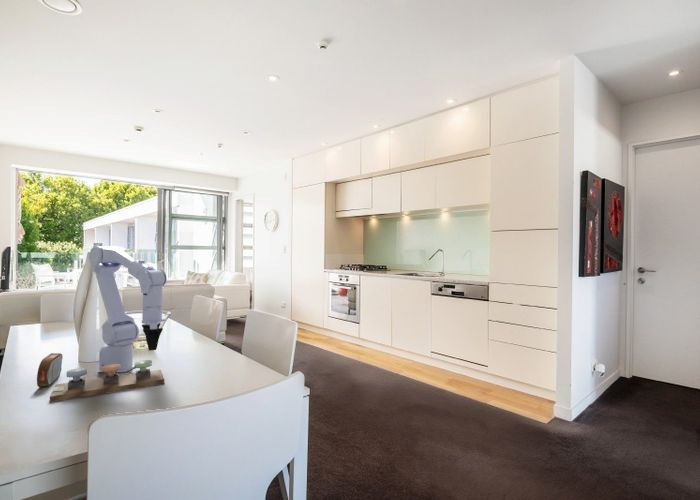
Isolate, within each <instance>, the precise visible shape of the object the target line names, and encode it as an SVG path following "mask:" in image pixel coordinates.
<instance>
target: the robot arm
mask: <svg viewBox="0 0 700 500" xmlns="http://www.w3.org/2000/svg"><path fill="white" fill-rule="evenodd" d="M88 260H89V263H90V267H91V270H92V272H93V273H95V274H94V275H95V276H96V281H97V285H98V288H99V291H100V294H101V298H102V302H103V306H104V309H105V313H106V315H107V320H105V322H104V323H103V324H102V326H101V330H102V334H101V335H102V336H101V337H102V340H103V342H104V343H105V344H103V345H102V347H100V350H99V360H98V361H99V364H98V365H99V367H98V370H97V372H98V373H103V372H102V367H103V366H105V365H110V364H120V365H121V369H120V370H119V371H116V372H115V373H127V372H129V371H130V370H132V369H134V368H135V363H133V359H134V358H133V356H134V355H133V353H134V351H133V347H134V346H133V344H134V343H135V342H136V340H137V338H138V336H139V333H140V330H139V326H138V324H136V322H135V318H134V317H132V316H130V315H128V314H126V311H125V308H124V305H123V302H122V298H121V295H120V292H119V289H118V284H117V282H116V279H115V275H114V274H115V273H116V272H118V271H119V270H120V268H121V266H123V267H125V268H127V272H128V274H130V276H132V277H134V278H135V279H137V280H138V284H139V286H140V292H141V293H142V311H141V312H142V315H141V316H142V317H141V318H142V319H141V327H142V331H143V334H144V335H145V341H146V345H147V349H148V351H156V350H157V349H158V345H159V340H160V336H161V334H162V333H163V330H164V328H163V327H160V326H161V324H162V323H163V322H166V321H167V320H166V317H165V318H163V287H164V286H165V285H166V284H167V274H166V272H165V271H164V270H163V269H155V268H154V267H153V266H152V265H149V264H148V263H146V261H145V260H144V259H135V258H133V257H132V256H131V255H130V254H129V253H128V252H127V249H126V248H124V247H123V246H121V245H120V246H99V245H94V246H92V247H91V249H90V251H89V255H88Z"/></svg>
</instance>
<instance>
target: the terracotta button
mask: <svg viewBox="0 0 700 500" xmlns="http://www.w3.org/2000/svg"><path fill="white" fill-rule="evenodd" d="M120 369H121V365H120V364H110V365H105V366H103V367H102V372H101V373H104V374H105V373H106V374H107V375H108V377H113V376H115V374H116V373H117V372H116V371H119V370H120Z"/></svg>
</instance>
